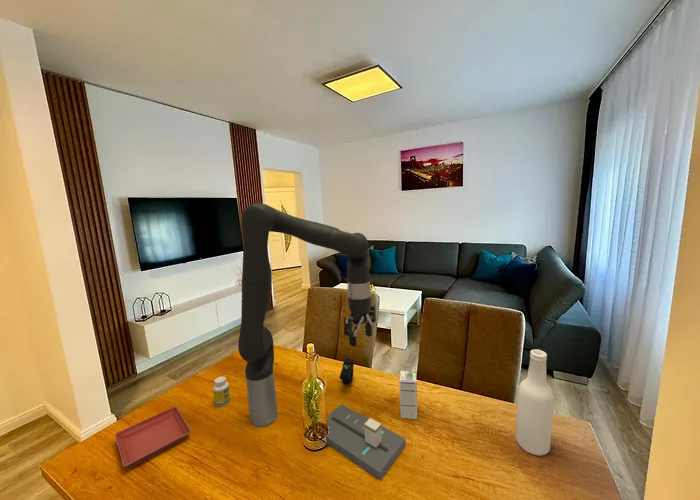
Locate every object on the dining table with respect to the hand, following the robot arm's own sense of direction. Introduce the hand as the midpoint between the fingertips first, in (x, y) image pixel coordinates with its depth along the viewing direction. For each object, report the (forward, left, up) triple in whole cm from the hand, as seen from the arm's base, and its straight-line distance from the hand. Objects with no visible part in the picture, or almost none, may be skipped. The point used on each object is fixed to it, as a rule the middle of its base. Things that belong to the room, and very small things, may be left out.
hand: (361, 340), depth 99 cm
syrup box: (+12, +10, -28) cm, 32 cm away
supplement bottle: (-48, -27, -28) cm, 62 cm away
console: (+5, -10, -28) cm, 30 cm away
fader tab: (+11, -10, -25) cm, 29 cm away
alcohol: (+48, +20, -28) cm, 59 cm away
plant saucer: (-49, -50, -29) cm, 76 cm away
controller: (-16, +10, -28) cm, 34 cm away
